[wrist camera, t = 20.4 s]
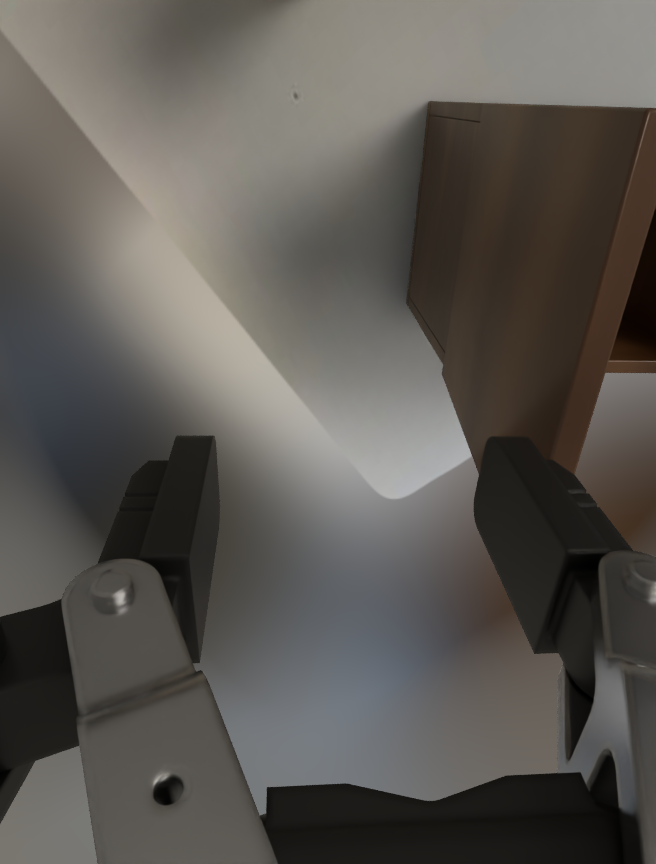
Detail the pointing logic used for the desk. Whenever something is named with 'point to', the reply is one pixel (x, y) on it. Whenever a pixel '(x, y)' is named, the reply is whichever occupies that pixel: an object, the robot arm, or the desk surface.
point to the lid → (546, 269)
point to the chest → (443, 230)
